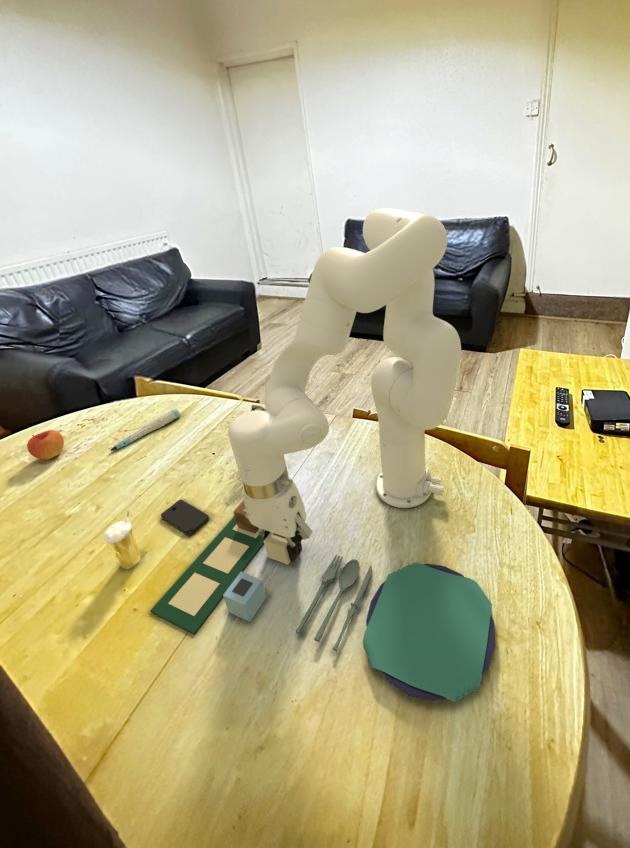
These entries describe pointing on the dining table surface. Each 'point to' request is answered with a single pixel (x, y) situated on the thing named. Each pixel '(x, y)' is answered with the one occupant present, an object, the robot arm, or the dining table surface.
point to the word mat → (208, 578)
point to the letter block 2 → (277, 548)
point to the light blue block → (245, 596)
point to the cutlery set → (421, 628)
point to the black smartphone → (185, 517)
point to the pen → (149, 428)
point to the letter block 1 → (243, 519)
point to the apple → (46, 445)
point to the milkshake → (123, 543)
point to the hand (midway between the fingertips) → (284, 549)
